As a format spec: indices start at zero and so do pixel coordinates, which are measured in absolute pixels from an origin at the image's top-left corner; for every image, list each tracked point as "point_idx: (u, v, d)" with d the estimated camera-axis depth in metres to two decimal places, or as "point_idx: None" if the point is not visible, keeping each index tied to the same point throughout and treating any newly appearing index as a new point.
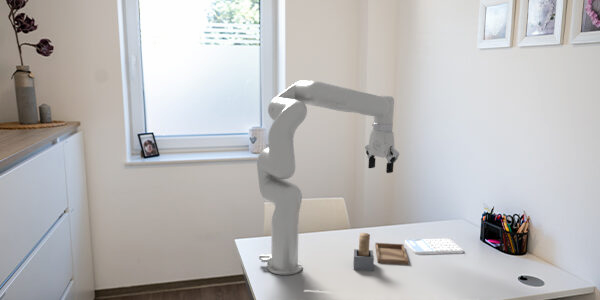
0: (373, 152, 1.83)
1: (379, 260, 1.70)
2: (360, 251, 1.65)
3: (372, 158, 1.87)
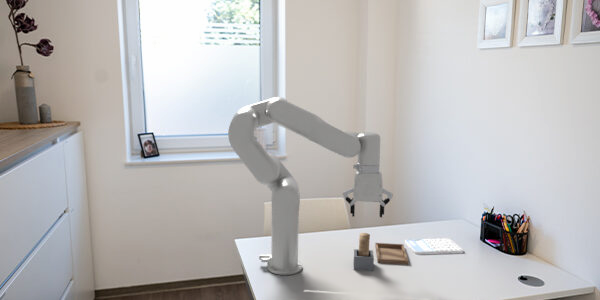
0: (362, 198, 1.60)
1: (379, 260, 1.70)
2: (360, 251, 1.65)
3: (354, 204, 1.63)
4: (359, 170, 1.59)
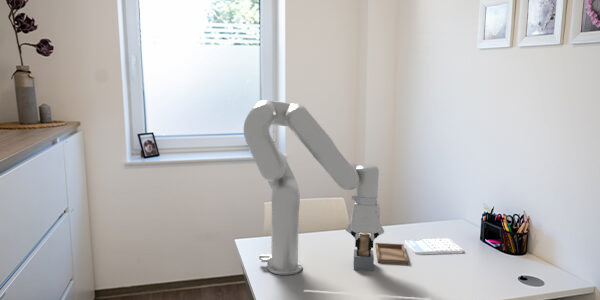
0: (359, 229, 1.62)
1: (379, 260, 1.70)
2: (360, 251, 1.65)
3: None
4: (357, 202, 1.61)
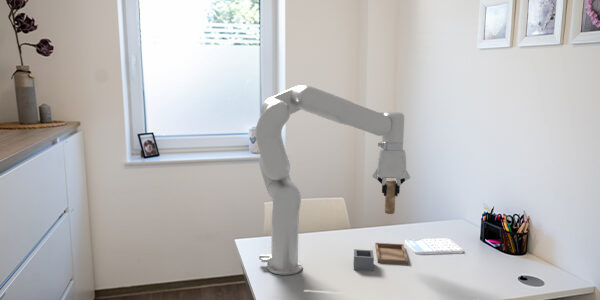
0: (386, 174, 1.67)
1: (379, 260, 1.70)
2: (387, 197, 1.70)
3: None
4: (384, 147, 1.66)
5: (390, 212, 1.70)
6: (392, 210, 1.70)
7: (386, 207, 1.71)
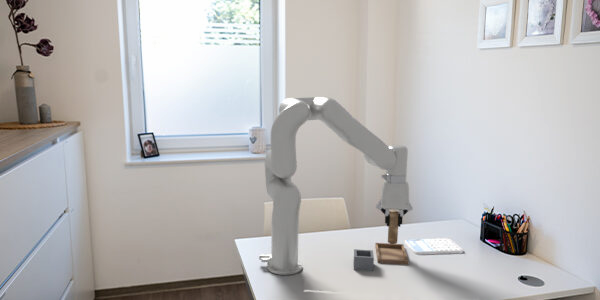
0: (390, 205, 1.71)
1: (379, 260, 1.70)
2: (390, 227, 1.74)
3: None
4: (387, 180, 1.70)
5: (393, 242, 1.75)
6: (395, 240, 1.75)
7: (389, 237, 1.75)
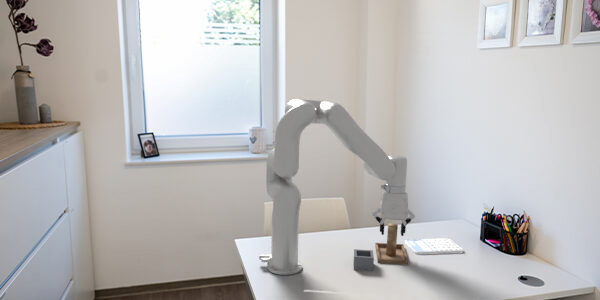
0: (389, 216, 1.72)
1: (379, 260, 1.70)
2: (388, 240, 1.75)
3: None
4: (387, 190, 1.71)
5: (391, 255, 1.76)
6: (393, 253, 1.76)
7: (387, 250, 1.76)
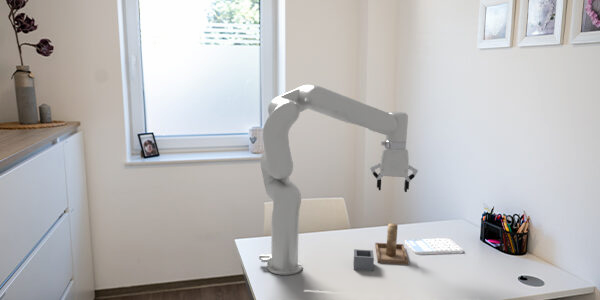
0: (389, 172, 1.70)
1: (379, 260, 1.70)
2: (388, 240, 1.75)
3: (380, 179, 1.74)
4: (387, 146, 1.69)
5: (391, 255, 1.76)
6: (393, 253, 1.76)
7: (387, 250, 1.76)
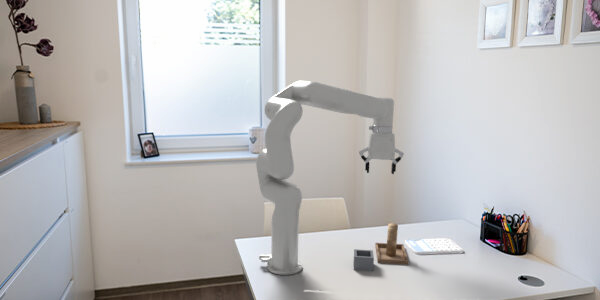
0: (376, 155, 1.78)
1: (379, 260, 1.70)
2: (389, 240, 1.75)
3: (368, 162, 1.82)
4: (374, 131, 1.78)
5: (391, 255, 1.76)
6: (393, 253, 1.76)
7: (387, 250, 1.76)
